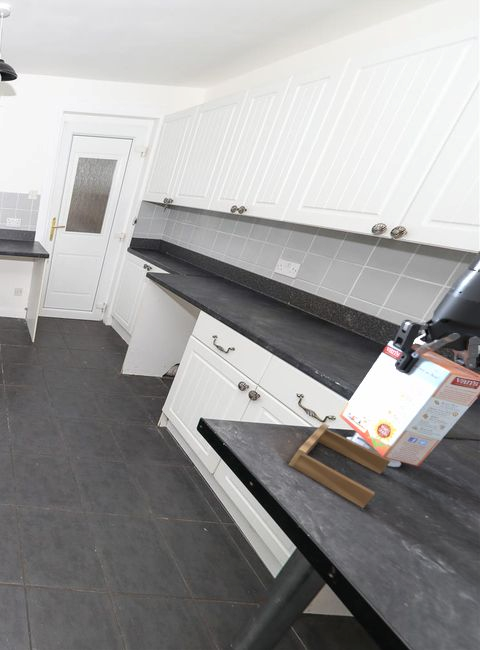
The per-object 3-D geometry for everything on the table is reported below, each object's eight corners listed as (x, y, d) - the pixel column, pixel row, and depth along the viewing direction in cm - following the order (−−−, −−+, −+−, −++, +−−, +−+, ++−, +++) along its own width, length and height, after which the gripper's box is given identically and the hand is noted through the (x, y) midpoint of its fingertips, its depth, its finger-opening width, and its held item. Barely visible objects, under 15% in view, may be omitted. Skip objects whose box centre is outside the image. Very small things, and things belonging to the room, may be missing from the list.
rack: (313, 437, 88) (323, 422, 86) (381, 472, 78) (393, 456, 76) (288, 464, 78) (299, 448, 76) (362, 508, 68) (376, 491, 66)
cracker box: (420, 468, 65) (496, 380, 57) (381, 458, 67) (449, 371, 59) (369, 423, 77) (426, 345, 69) (337, 415, 79) (388, 338, 71)
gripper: (444, 295, 58) (388, 375, 65) (567, 314, 54) (493, 398, 60) (411, 284, 65) (363, 357, 71) (519, 300, 60) (457, 377, 67)
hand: (423, 376), depth 66 cm, fingers closed on cracker box, 6 cm apart
